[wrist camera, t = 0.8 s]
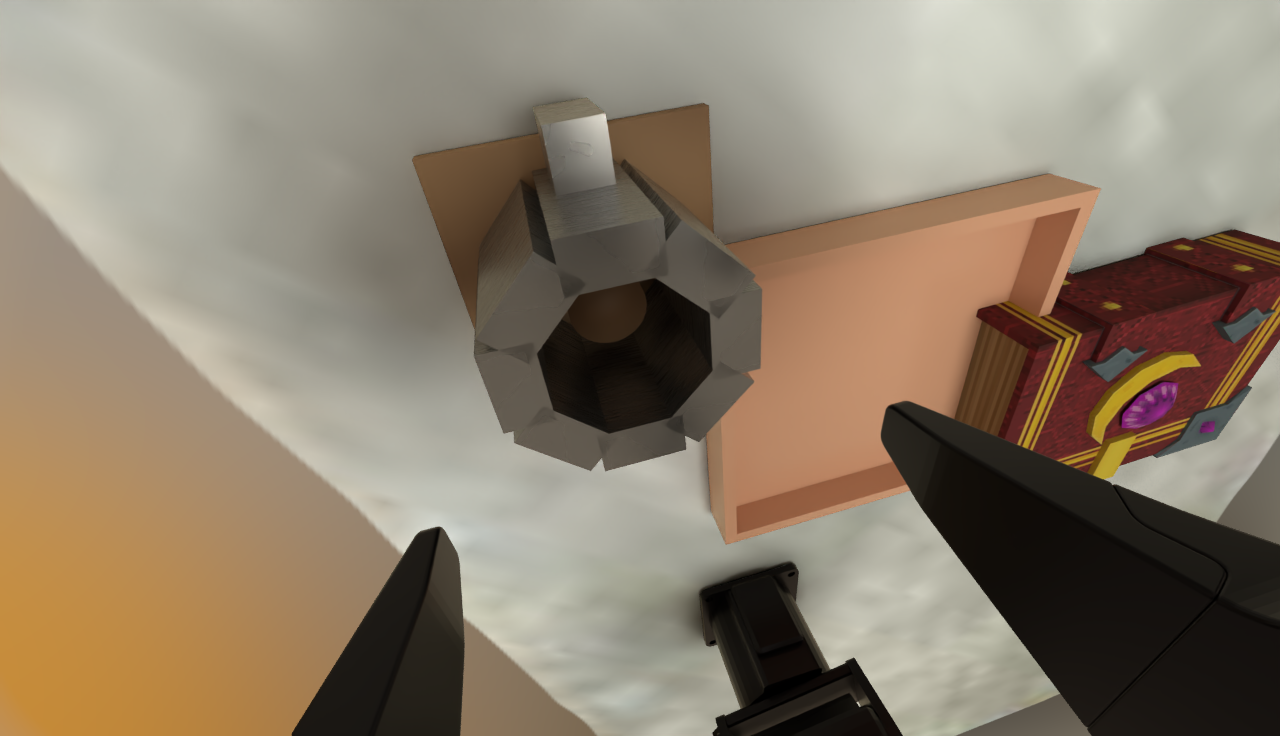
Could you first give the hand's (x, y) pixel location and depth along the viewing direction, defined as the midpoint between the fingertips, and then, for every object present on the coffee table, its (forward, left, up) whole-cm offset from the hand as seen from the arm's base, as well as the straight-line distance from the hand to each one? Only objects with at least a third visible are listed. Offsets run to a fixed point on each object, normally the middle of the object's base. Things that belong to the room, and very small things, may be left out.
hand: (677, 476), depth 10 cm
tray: (-8, -11, -11) cm, 17 cm away
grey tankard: (0, 0, -10) cm, 10 cm away
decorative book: (-11, -25, -11) cm, 29 cm away
